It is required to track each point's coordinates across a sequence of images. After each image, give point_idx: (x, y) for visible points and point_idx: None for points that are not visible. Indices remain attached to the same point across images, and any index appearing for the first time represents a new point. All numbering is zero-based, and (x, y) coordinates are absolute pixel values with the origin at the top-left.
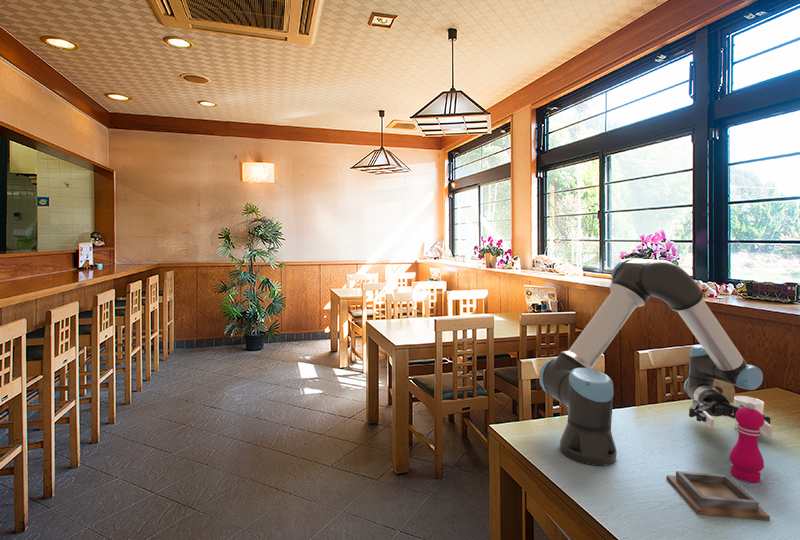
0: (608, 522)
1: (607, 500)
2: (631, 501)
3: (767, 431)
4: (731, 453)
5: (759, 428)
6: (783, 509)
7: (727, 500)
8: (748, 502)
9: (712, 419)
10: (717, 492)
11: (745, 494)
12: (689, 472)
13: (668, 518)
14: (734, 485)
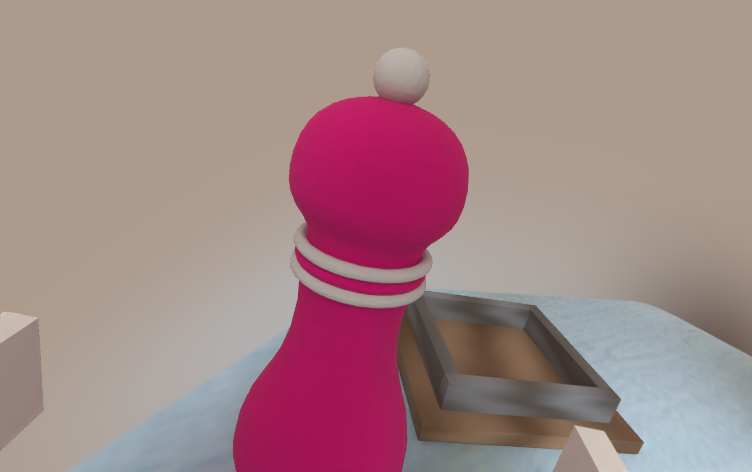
0: (668, 317)
1: (710, 361)
2: (667, 358)
3: (26, 391)
4: (406, 428)
5: (303, 226)
6: None
7: (479, 298)
8: (432, 293)
9: (589, 429)
10: (483, 364)
11: (427, 309)
12: (577, 393)
13: (582, 320)
14: (442, 339)
